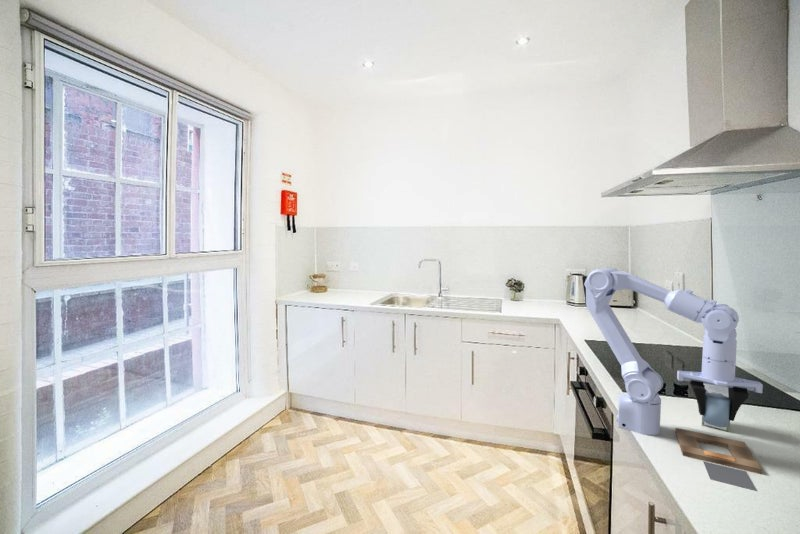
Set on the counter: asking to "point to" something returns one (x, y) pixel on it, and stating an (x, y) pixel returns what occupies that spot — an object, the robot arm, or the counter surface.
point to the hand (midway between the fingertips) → (715, 416)
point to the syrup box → (721, 391)
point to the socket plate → (737, 449)
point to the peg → (716, 410)
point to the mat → (729, 476)
